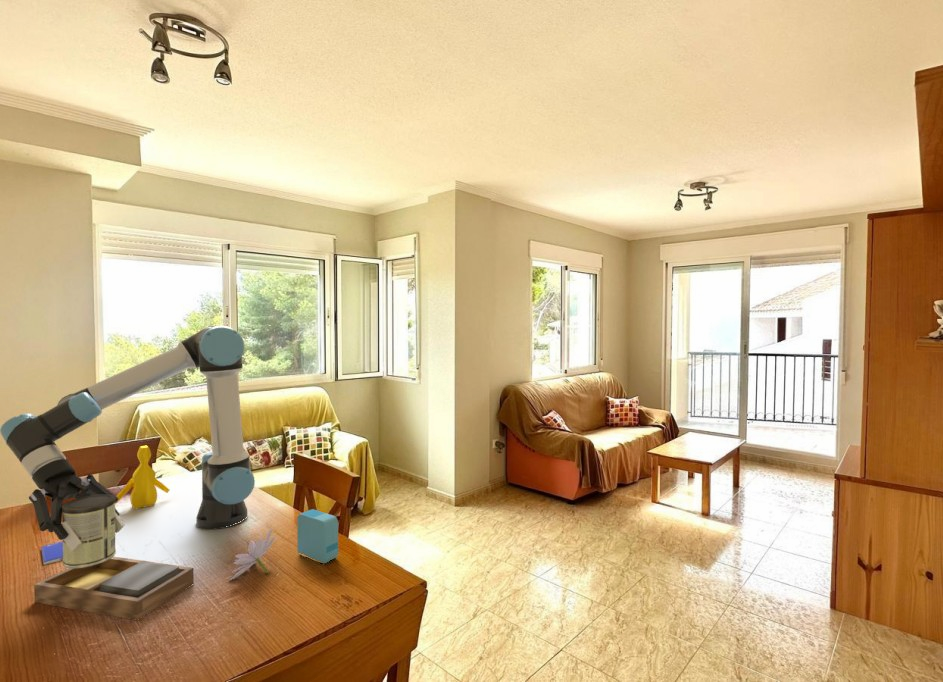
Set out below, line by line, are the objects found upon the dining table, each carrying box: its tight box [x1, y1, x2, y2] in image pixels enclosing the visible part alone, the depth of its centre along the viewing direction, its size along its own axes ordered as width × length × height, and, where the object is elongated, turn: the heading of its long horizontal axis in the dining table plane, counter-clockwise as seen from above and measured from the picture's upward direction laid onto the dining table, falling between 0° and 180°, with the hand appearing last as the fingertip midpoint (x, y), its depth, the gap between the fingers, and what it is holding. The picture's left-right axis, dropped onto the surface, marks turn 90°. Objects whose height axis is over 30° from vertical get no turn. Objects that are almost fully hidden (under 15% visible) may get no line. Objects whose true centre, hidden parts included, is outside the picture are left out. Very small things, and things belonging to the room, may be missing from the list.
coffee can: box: [61, 494, 117, 569], centre depth 117 cm, size 10×10×14 cm
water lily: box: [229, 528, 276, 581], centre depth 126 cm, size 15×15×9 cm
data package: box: [296, 508, 339, 564], centre depth 135 cm, size 12×4×12 cm, turn 57°
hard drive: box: [41, 540, 63, 566], centre depth 137 cm, size 2×8×12 cm
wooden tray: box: [33, 555, 195, 621], centre depth 116 cm, size 30×16×5 cm, turn 76°
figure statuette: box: [115, 445, 171, 510], centre depth 173 cm, size 18×8×22 cm, turn 137°
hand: (99, 537), depth 117 cm, fingers closed on coffee can, 10 cm apart
